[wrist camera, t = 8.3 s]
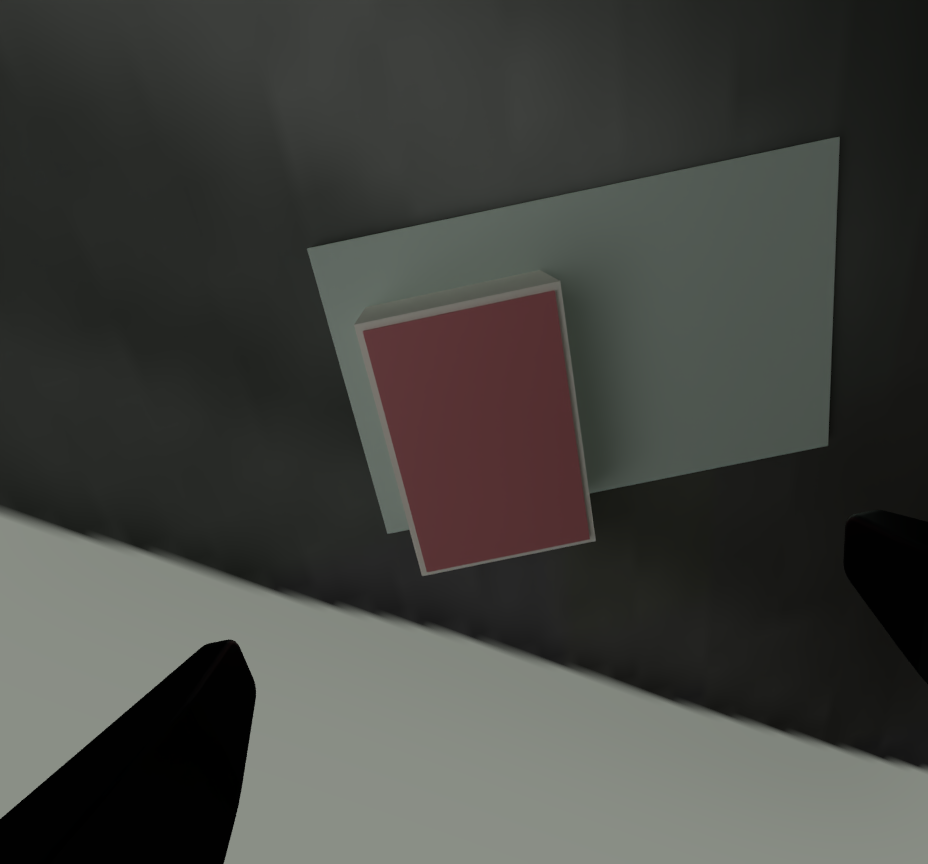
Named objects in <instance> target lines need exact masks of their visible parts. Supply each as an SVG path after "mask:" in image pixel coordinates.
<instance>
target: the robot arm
mask: <svg viewBox="0 0 928 864" xmlns="http://www.w3.org/2000/svg"><path fill="white" fill-rule="evenodd" d="M844 569H845V572H846V575H847V577H848V579H849V580H850V582H851V584H852V585H853V586H854V588H855V589H856V590H857V592H858V593H859V594H860V596H861V597H862V598H863V600H864V601H865V603H866V604H867V605H868V607H869V608H870V609H871V611H872V612H873V613H874V615H875V616H876V618H877V619H878V620H879V622H880V623H881V624H882V626H883V627H884V628H885V630H886V631H887V633H888V634H889V635H890V637H891V638H892V639H893V641H894V642H895V643H896V645H897V646H898V648H899V649H900V650H901V652H902V653H903V654H904V656H905V657H906V658H907V660H908V661H909V662H910V663H911V665H912V666H913V667H914V669H915V670H916V671H917V672H918V674H919V675H920V676H921V677H922V678H923V679H924V681H925V682H926V683H927V684H928V522H926V521H922V520H918V519H915V518H911V517H907V516H903V515H899V514H895V513H891V512H887V511H883V510H874V511H869V512H864V513H859V514H854V515H852V516H850V517H849V518H848V519H847V521H846V525H845V542H844ZM255 699H256V688H255V682H254V679H253V677H252V675H251V672H250V670H249V668H248V665H247V663H246V661H245V659H244V656H243V654H242V652H241V649H240V647H239V645H238V644H237V643H236V642H235V641H233V640H224V641H219V642H214V643H209V644H206V645H204V646H203V647H201V648H200V649H199V650H198V651H197V652H196V653H194V654H193V655H192V656H191V657H190V658H188V659H187V660H186V661H185V662H184V663H183V664H181V665H180V666H179V667H178V668H177V669H176V670H174V671H173V672H172V673H171V674H170V675H169V676H167V677H166V678H165V679H164V680H163V681H162V682H160V683H159V684H158V685H157V686H156V687H154V689H152V690H151V691H150V692H149V693H147V694H146V695H145V696H144V697H143V698H142V699H140V700H139V701H138V702H137V703H136V704H135V705H134V706H132V707H131V708H130V709H129V710H128V711H126V712H125V713H124V714H123V715H122V716H121V717H119V718H118V719H117V720H116V721H115V722H113V723H112V724H111V725H110V726H109V727H108V728H106V729H105V730H104V731H103V732H102V733H101V734H99V735H98V736H97V737H96V738H95V739H94V740H93V741H91V742H90V743H89V744H88V745H87V746H85V747H84V748H83V749H82V750H81V751H80V752H78V753H77V754H76V755H75V756H74V757H73V758H71V759H70V760H69V761H68V762H67V763H65V765H63V766H62V767H61V768H60V769H58V770H57V771H56V772H55V773H54V774H53V775H51V776H50V777H49V778H48V779H47V780H46V781H44V782H43V783H42V784H41V785H40V786H38V788H36V789H35V790H34V791H33V792H32V793H31V794H29V795H28V796H27V797H26V798H25V799H23V800H22V801H21V802H20V803H19V804H17V805H16V806H15V807H14V808H13V809H12V810H10V811H9V812H8V813H7V814H6V815H5V816H3V817H2V818H1V819H0V864H223V863H224V860H225V856H226V852H227V848H228V845H229V840H230V837H231V833H232V829H233V825H234V821H235V817H236V813H237V808H238V805H239V799H240V794H241V788H242V783H243V776H244V770H245V763H246V757H247V750H248V744H249V738H250V731H251V725H252V718H253V712H254V706H255Z"/></svg>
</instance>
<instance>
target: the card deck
mask: <svg viewBox="0 0 928 864" xmlns="http://www.w3.org/2000/svg"><path fill="white" fill-rule="evenodd" d="M354 327H355V331H356V335H357V338H358V342H359V346H360V349H361V353H362V357H363V360H364V364H365V368H366V371H367V375H368V379H369V382H370V386H371V390H372V393H373V397H374V401H375V405H376V408H377V412H378V416H379V419H380V423H381V427H382V430H383V434H384V438H385V441H386V445H387V449H388V452H389V456H390V460H391V463H392V467H393V471H394V474H395V478H396V482H397V485H398V489H399V493H400V497H401V500H402V504H403V508H404V511H405V515H406V519H407V522H408V526H409V530H410V533H411V537H412V541H413V544H414V548H415V552H416V555H417V559H418V563H419V566H420V570H421V574H422V576H425V575H430V574H435V573H440V572H445V571H450V570H455V569H460V568H465V567H470V566H475V565H479V564H484V563H489V562H494V561H499V560H504V559H509V558H514V557H519V556H524V555H529V554H534V553H539V552H543V551H548V550H553V549H558V548H563V547H568V546H573V545H578V544H583V543H588V542H593V541H596V539H595V532H594V524H593V517H592V510H591V502H590V495H589V488H588V480H587V473H586V466H585V458H584V451H583V444H582V436H581V429H580V422H579V414H578V407H577V400H576V392H575V385H574V378H573V370H572V363H571V356H570V348H569V341H568V334H567V326H566V319H565V312H564V305H563V297H562V290H561V283H560V280H558V279H556V278H554V277H552V276H550V275H548V274H546V273H545V272H543V271H541V270H537V271H533V272H528V273H523V274H519V275H514V276H509V277H504V278H500V279H495V280H490V281H486V282H481V283H476V284H472V285H467V286H462V287H458V288H453V289H448V290H444V291H439V292H434V293H429V294H425V295H420V296H415V297H411V298H406V299H401V300H397V301H392V302H387V303H383V304H378V305H373V306H369V307H366V308H365V309H364V310H363V312H362V313H361V315H360V316H359V318H358V319H357V321H356V322H355V324H354Z"/></svg>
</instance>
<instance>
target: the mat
mask: <svg viewBox="0 0 928 864" xmlns="http://www.w3.org/2000/svg"><path fill="white" fill-rule="evenodd" d="M839 145H840V137H835V138H830V139H825V140H820V141H815V142H811V143H806V144H801V145H796V146H792V147H787V148H782V149H777V150H773V151H768V152H763V153H758V154H754V155H749V156H744V157H739V158H735V159H730V160H725V161H720V162H716V163H711V164H706V165H701V166H697V167H692V168H687V169H682V170H678V171H673V172H668V173H663V174H659V175H654V176H649V177H644V178H640V179H635V180H630V181H625V182H621V183H616V184H611V185H606V186H602V187H597V188H592V189H587V190H583V191H578V192H573V193H568V194H564V195H559V196H554V197H549V198H545V199H540V200H535V201H530V202H526V203H521V204H516V205H511V206H507V207H502V208H497V209H492V210H488V211H483V212H478V213H473V214H469V215H464V216H459V217H454V218H450V219H445V220H440V221H435V222H431V223H426V224H421V225H416V226H411V227H407V228H402V229H397V230H392V231H388V232H383V233H378V234H373V235H369V236H364V237H359V238H354V239H350V240H345V241H340V242H335V243H331V244H326V245H321V246H316V247H312V248H308V249H307V250H308V254H309V257H310V261H311V264H312V268H313V271H314V275H315V278H316V282H317V286H318V289H319V293H320V296H321V300H322V303H323V307H324V310H325V314H326V317H327V321H328V325H329V328H330V332H331V335H332V339H333V342H334V346H335V349H336V353H337V356H338V360H339V363H340V367H341V371H342V374H343V378H344V381H345V385H346V388H347V392H348V395H349V399H350V402H351V406H352V409H353V413H354V417H355V420H356V424H357V427H358V431H359V434H360V438H361V441H362V445H363V448H364V452H365V455H366V459H367V463H368V466H369V470H370V473H371V477H372V480H373V484H374V487H375V491H376V494H377V498H378V501H379V505H380V509H381V512H382V516H383V519H384V523H385V526H386V530H387V533H388V534H389V533H394V532H399V531H404V530H409V526H408V522H407V519H406V515H405V511H404V508H403V504H402V500H401V497H400V493H399V489H398V485H397V482H396V478H395V474H394V471H393V467H392V463H391V460H390V456H389V452H388V449H387V445H386V441H385V438H384V434H383V430H382V427H381V423H380V419H379V416H378V412H377V408H376V405H375V401H374V397H373V393H372V390H371V386H370V382H369V379H368V375H367V371H366V368H365V364H364V360H363V357H362V353H361V349H360V346H359V342H358V338H357V335H356V331H355V327H354V324H355V322H356V321H357V319H358V318H359V316H360V315H361V313H362V312H363V310H364V309H365V308H366V307H369V306H373V305H378V304H383V303H387V302H392V301H397V300H401V299H406V298H411V297H415V296H420V295H425V294H429V293H434V292H439V291H444V290H448V289H453V288H458V287H462V286H467V285H472V284H476V283H481V282H486V281H490V280H495V279H500V278H504V277H509V276H514V275H519V274H523V273H528V272H533V271H537V270H541V271H543V272H545V273H546V274H548V275H550V276H552V277H554V278H556V279H558V280H560V283H561V290H562V297H563V305H564V312H565V319H566V326H567V334H568V341H569V348H570V356H571V363H572V370H573V378H574V385H575V392H576V400H577V407H578V414H579V422H580V429H581V436H582V444H583V451H584V458H585V466H586V473H587V480H588V488H589V493H594V492H599V491H604V490H609V489H614V488H619V487H624V486H629V485H634V484H639V483H644V482H649V481H654V480H659V479H664V478H669V477H674V476H679V475H684V474H689V473H694V472H699V471H704V470H709V469H714V468H719V467H724V466H729V465H734V464H739V463H744V462H749V461H754V460H759V459H764V458H769V457H774V456H779V455H784V454H789V453H794V452H799V451H804V450H809V449H814V448H819V447H824V446H828V434H829V408H830V382H831V355H832V329H833V303H834V276H835V250H836V224H837V197H838V171H839Z"/></svg>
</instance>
